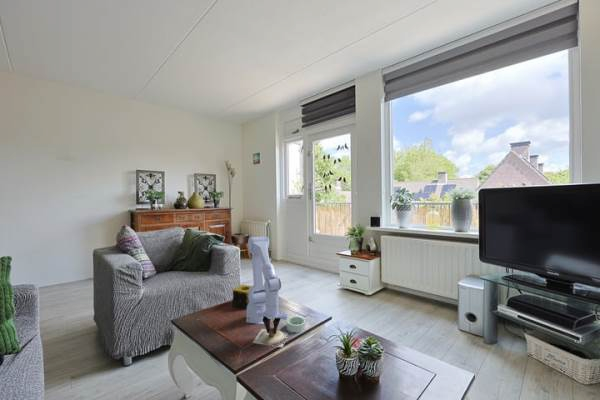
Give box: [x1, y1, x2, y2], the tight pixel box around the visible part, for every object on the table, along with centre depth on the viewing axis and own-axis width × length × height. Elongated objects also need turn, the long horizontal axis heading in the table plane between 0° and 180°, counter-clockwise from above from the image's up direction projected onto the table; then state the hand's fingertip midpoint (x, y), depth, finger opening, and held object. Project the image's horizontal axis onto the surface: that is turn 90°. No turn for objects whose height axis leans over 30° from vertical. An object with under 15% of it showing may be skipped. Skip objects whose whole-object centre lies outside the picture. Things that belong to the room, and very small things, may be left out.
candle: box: [231, 284, 253, 310], centre depth 157 cm, size 10×10×10 cm
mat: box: [252, 328, 289, 348], centre depth 124 cm, size 14×12×1 cm
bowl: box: [286, 315, 306, 334], centre depth 132 cm, size 9×9×4 cm
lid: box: [260, 326, 284, 344], centre depth 123 cm, size 11×11×4 cm
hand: (271, 332), depth 123 cm, fingers closed on lid, 3 cm apart
